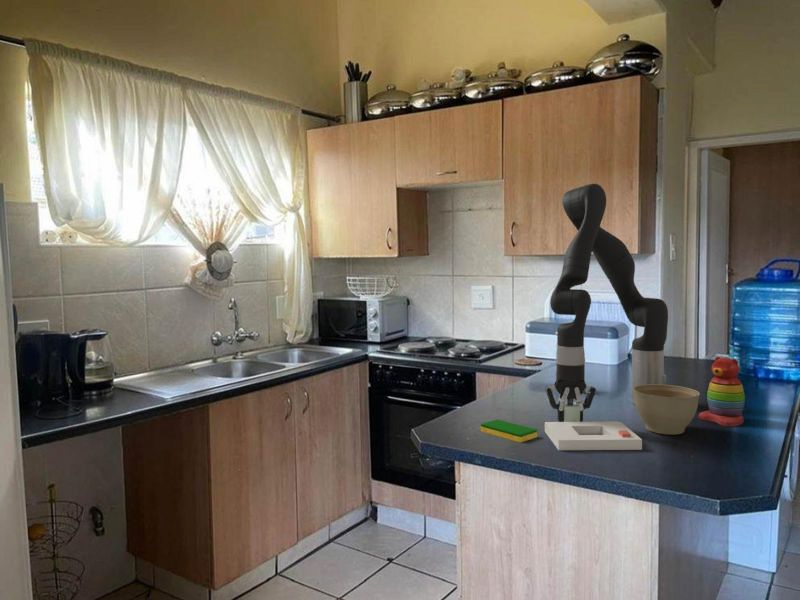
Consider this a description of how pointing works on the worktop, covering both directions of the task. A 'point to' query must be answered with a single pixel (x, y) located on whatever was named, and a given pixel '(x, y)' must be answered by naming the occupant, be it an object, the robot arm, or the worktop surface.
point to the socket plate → (592, 436)
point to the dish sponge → (509, 430)
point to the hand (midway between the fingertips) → (570, 422)
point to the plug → (571, 411)
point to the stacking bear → (725, 394)
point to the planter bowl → (666, 407)
